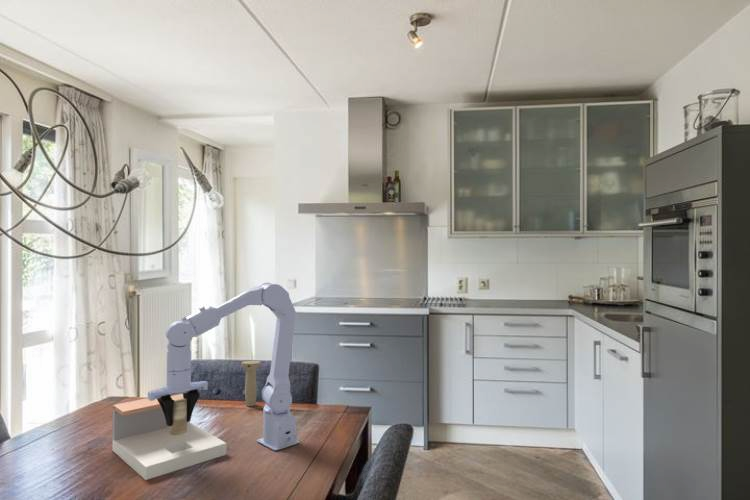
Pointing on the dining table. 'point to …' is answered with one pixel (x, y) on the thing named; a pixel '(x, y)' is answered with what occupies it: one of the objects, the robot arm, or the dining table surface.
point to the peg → (179, 417)
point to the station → (158, 440)
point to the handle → (250, 381)
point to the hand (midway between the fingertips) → (178, 422)
